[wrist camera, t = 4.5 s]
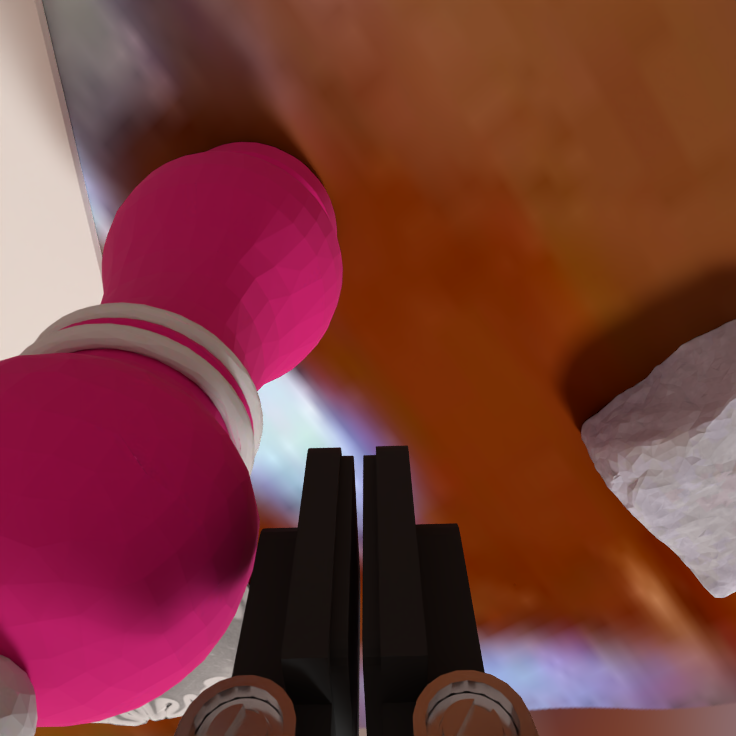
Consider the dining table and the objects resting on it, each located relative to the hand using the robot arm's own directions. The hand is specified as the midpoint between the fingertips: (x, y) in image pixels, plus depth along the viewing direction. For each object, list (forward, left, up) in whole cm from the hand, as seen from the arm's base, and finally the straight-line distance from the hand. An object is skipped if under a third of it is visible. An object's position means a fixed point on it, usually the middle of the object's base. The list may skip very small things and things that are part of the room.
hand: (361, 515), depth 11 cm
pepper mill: (0, -4, -16) cm, 16 cm away
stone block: (+10, +16, -16) cm, 25 cm away
